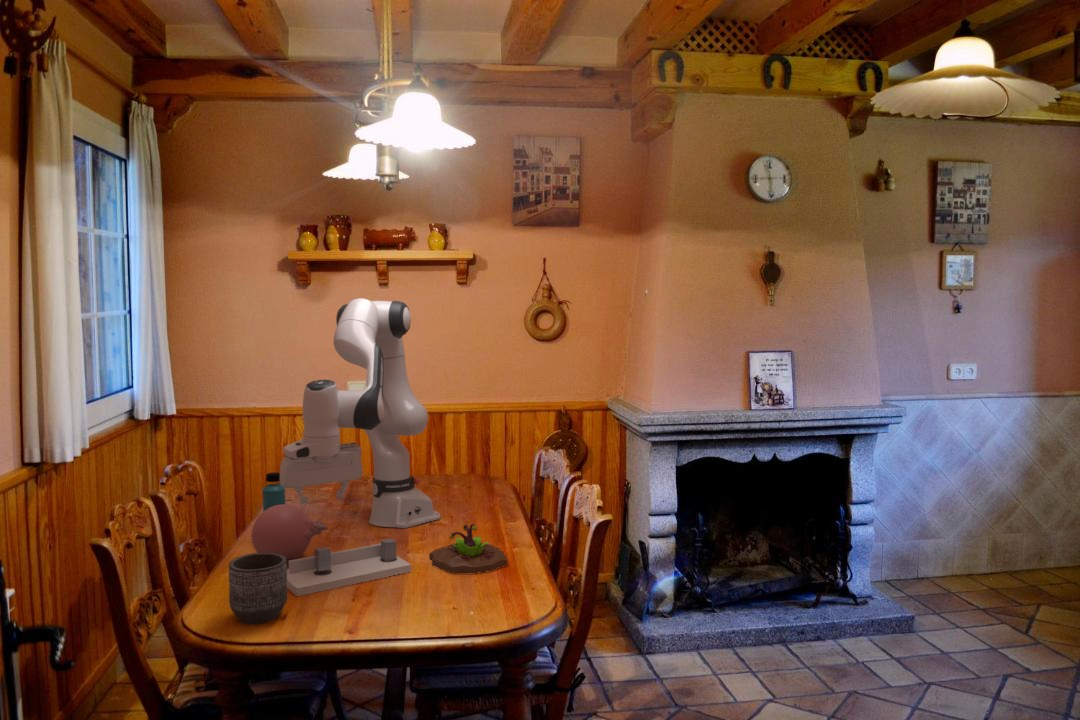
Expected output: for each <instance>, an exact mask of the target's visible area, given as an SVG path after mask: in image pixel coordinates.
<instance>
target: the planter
mask: <svg viewBox="0 0 1080 720" xmlns="http://www.w3.org/2000/svg"><path fill="white" fill-rule="evenodd" d="M287 569H288V562H287V560H286V557H285V556H283V555H281V554H277V553H257V552H255V553H248V554H247V553H246V554H244V555H240V556H237V557H236V558H233V559H232V560H230V561H229V563H228V589H229V590H228V596H229V597H228V599H229V602H228V603H229V608H230V610H231V611H232V612H233V614H234V615H235V617H236V618H237V620H238V621H239V622H240V623H242V624H245V625H262V624H266V623H270V622H272V621H274V620H276V619H278V617H279V615H280V613H281V612H282V611H283V609H284V607H285V606H286V604H287V600H288V588H287Z"/></svg>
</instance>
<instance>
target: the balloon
mask: <svg viewBox="0 0 1080 720" xmlns="http://www.w3.org/2000/svg"><path fill="white" fill-rule="evenodd" d="M328 529H329V526H328V525H326V524H325V523H324V522H323V520H322V519H318V520H316V521H314V520H312V519H311V518H309V517H308V515H307V514H306V513H305V512H304V511H303V510H302V509H300V508H299V507H298V506H295V505H291V504H280V505H275V506H272V507H270V508H268V509H266V510H265V511H264V512H263V511H262V512H261V513H260V514H259V515H258V517H257V518H256V519H255V521H254V523H253V526H252V529H251V542H252V545H253V548H254V549H255V552H256V553H277V554H281V555H283V556H285V557H286V560H287V563H289V560H295V559H299V558H300V557H301V556H302V555H304V554H305V552H306V551H307V549H308V548H309V547H310V544H311V542H312V539H313V537H314V536H316V535H317V536H318V535H319V536H320V535H321V534H322V532H323V531H327V530H328Z"/></svg>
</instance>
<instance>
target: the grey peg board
mask: <svg viewBox="0 0 1080 720" xmlns="http://www.w3.org/2000/svg"><path fill="white" fill-rule="evenodd" d="M408 572H409V573H412V564H411V563H410V562H408V561H406V560H404V559H403V558H402V557H399V556H398V555H397V541H396V540H395V539H394V538H385V539H381V540H380V543H376V544H370V545H366V546H360V547H354V548H350V549H344V550H339V551H333V552H332V551H331V569H329V570H324V571H318V570H317V569H315V555H311V556H306V557H301V558H300V557H299V558H296V559H295V560H289V562H288V568H287V590H289V591H290V592H291V593H292V594H294V595H295V596H296V597H301V596H302V597H303V596H306V595H310V594H316V593H320V592H323V591H325V592H326V591H329V590H334V589H338V587H339V588H343V586H344V587H348V586H347V585H349V586H352V584H353V585H357V583H358V584H361V582H363V583H367V582H371V581H370V580H372V581H376V580H375V579H377V580H380V578H381V579H385V577H386V578H390V577H389V576H391V577H394V576H393V575H395V576H399V575H398V574H400V575H404V574H403V573H405V574H409V573H408ZM319 591H320V592H319ZM315 592H316V593H315Z"/></svg>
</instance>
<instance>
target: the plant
mask: <svg viewBox="0 0 1080 720" xmlns="http://www.w3.org/2000/svg"><path fill="white" fill-rule="evenodd" d="M462 527H463V528H462V529H463V530H464V531H465V532H466V533H467V534H466V535H465V534H464V533H462V532H460V531H459V532H458V531H456V532H451V533H450V534H449V539H454V538H455V543H451V544H449V545H446V546H441V547H440V548H436V549H433V551H431V552H429V556H428V557H429V559H430V560H429V559H428V560H429V561H431V560H432V561H431V565H432V567H434V566H436V567H435V568H437V567H438V568H437V569H439V568H440V569H439V570H441V569H443V570H445V571H447V572H450V573H478V572H486V571H492V570H494V569H496V568H498V567H502V566H505V565H508V564H509V563H508V557H507V556H506V554H505V553H504V551H503V550H502V549H500V547H496V546H495V545H494V544H489V541H485V542H482V537H480V536H479V535H477V536H474V535H473V532H476V531H477V530H478V526H477V525H476V524H475V523H471V524H470V526H468V525H467V524H464V525H463V526H462ZM456 535H459V536H461V537H457V536H456ZM455 536H456V537H455ZM473 536H474V537H473ZM508 566H509V565H508ZM502 568H503V567H502ZM498 569H499V568H498ZM443 570H442V571H443ZM496 570H497V569H496ZM445 571H444V572H445ZM494 571H495V570H494ZM447 572H446V573H447ZM492 572H493V571H492ZM450 573H449V574H450ZM486 573H487V572H486Z"/></svg>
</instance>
